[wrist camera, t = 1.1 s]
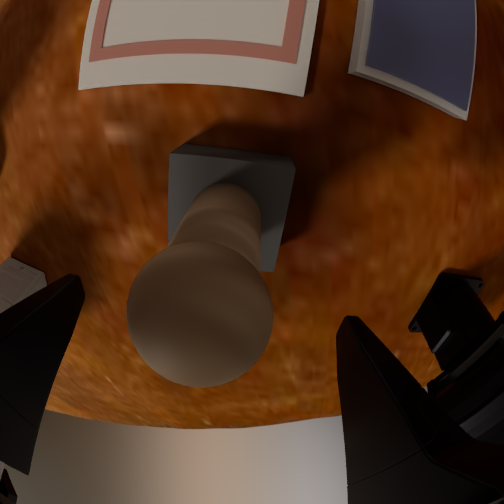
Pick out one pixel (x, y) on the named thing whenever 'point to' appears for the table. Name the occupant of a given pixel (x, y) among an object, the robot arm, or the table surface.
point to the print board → (199, 43)
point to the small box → (18, 282)
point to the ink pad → (418, 49)
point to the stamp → (212, 266)
